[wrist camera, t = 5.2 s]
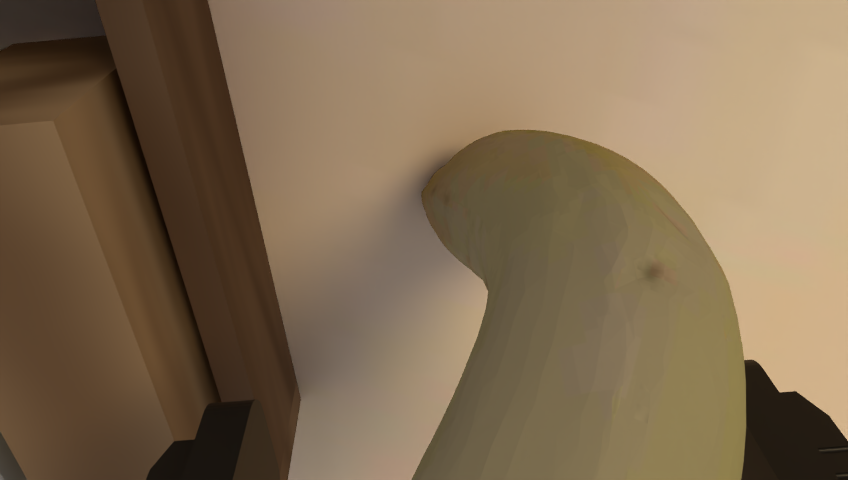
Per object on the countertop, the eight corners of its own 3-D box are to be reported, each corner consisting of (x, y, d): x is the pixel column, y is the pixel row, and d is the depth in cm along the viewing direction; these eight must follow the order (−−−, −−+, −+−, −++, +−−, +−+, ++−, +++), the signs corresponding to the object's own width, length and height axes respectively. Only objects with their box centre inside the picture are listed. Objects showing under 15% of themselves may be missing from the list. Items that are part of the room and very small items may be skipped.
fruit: (721, 140, 16) (658, 16, 15) (979, 1300, 4) (735, 1100, 3) (467, 249, 19) (400, 156, 18) (181, 1025, 7) (-66, 890, 6)
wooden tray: (180, -113, 14) (114, -97, 11) (300, 399, 22) (283, 503, 19) (-284, -70, 15) (-493, -40, 11) (-6, 426, 22) (-79, 534, 19)
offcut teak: (162, 29, 16) (52, 120, 11) (243, 329, 21) (194, 493, 16) (15, 42, 16) (-163, 140, 11) (129, 339, 21) (42, 506, 16)
